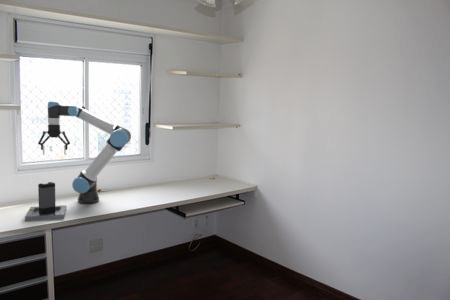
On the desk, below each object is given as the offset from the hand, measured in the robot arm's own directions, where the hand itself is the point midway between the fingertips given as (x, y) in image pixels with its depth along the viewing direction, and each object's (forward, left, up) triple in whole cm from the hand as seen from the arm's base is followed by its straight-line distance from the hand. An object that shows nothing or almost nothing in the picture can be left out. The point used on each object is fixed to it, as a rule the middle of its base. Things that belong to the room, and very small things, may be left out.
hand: (54, 154), depth 263 cm
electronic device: (+3, +22, -36) cm, 42 cm away
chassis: (+3, +22, -37) cm, 43 cm away
